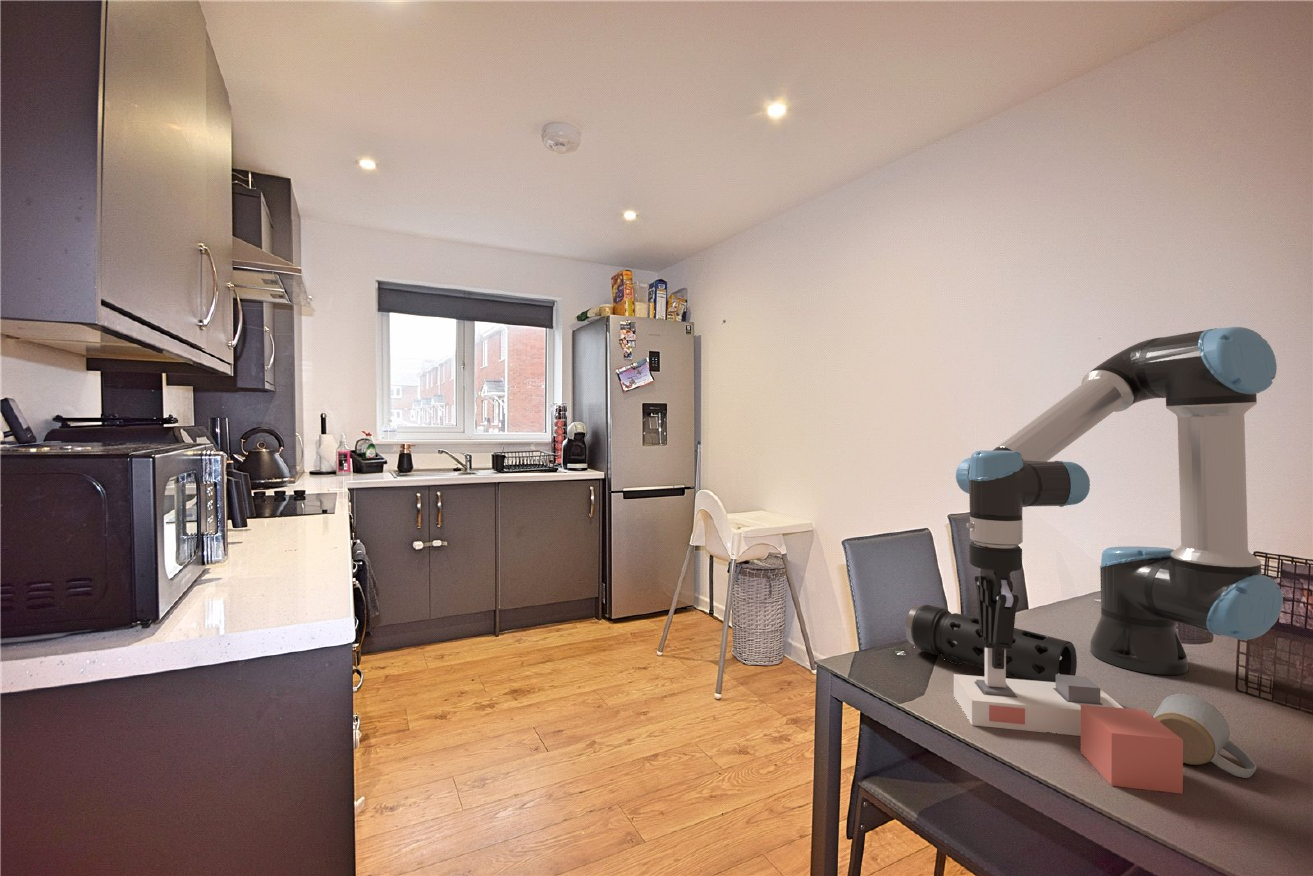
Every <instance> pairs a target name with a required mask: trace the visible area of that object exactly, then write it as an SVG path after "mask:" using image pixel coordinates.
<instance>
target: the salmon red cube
mask: <svg viewBox="0 0 1313 876" xmlns="http://www.w3.org/2000/svg"><path fill="white" fill-rule="evenodd" d="M1153 716H1154V715H1151V713H1149V712H1148V711H1147V710H1145V709H1136V708H1124V707H1123V708H1114V707H1103V706H1091V705H1081V736H1080V753H1081V755H1083V757H1084V758H1086V760H1087V761H1088V762H1089V763H1090V764H1091V765H1092V767H1093V768H1094V769H1095V770H1097V772H1098V773H1100V775H1101V776H1102V777H1103V779H1105V780H1106V781H1107V783H1108V784H1109V785H1111V787H1112V786H1113V787H1120V788H1121V787H1122V788H1129V789H1138V790H1146V791H1154V792H1163V793H1164V792H1165V793H1174V794H1181V795H1182V794H1184V793H1183V792H1184V786H1183V785H1184V783H1183V782H1184V775H1183V774H1184V763H1183V740H1182V739H1181V738H1180V737H1179V736H1177V735H1176V734H1175V733H1173V732H1172V731H1171V730H1170V729H1168V728H1167V727H1166V726H1164V725H1163V724H1162V723H1160V722H1159V721H1158V720H1157V719H1155V718H1154V717H1153Z"/></svg>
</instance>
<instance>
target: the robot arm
mask: <svg viewBox="0 0 1313 876" xmlns="http://www.w3.org/2000/svg"><path fill="white" fill-rule="evenodd" d="M1277 366H1278V365H1277V359H1276V355H1275V352H1274V351H1273V349H1272V347H1271V345H1270V344H1269V342H1268V341H1267V340H1266V339H1265V338H1263V336H1262V335H1261V334H1260V333H1258V332H1256V331H1255V330H1253V329H1250V328H1247V327H1242V326H1234V327H1233V326H1232V327H1229V326H1228V327H1220V328H1217V327H1215V328H1210V329H1209V328H1208V329H1205V330H1200V331H1199V330H1198V331H1193V332H1187V333H1182V334H1176V335H1175V334H1174V335H1169V336H1164V337H1163V336H1162V337H1160V336H1159V337H1155V338H1150V339H1146V340H1144V341H1143V340H1142V341H1140V342H1137V343H1135V344H1133V345H1130V346H1129V347H1127V348H1124V349H1122V350H1121V351H1120V352H1118V353H1116V354H1114V355H1113V356H1111V357H1109V358H1108V359H1106V360H1104V361H1103V362H1101V363H1100V364H1099V365H1097V366H1096V367H1094V368H1093V369H1092V370H1090V371H1089V372H1087V373H1086V374H1085V375H1084V376H1083V378H1082V379H1081V384H1080V385H1079V386H1077V387H1076V388H1075V389H1073V390H1072V391H1071V392H1069V393H1068V394H1067V395H1066V396H1064V397H1062V399H1060V400H1059V401H1058V402H1056V403H1055V404H1053V405H1052V406H1050V407H1049V408H1048V409H1046V410H1045V411H1044V412H1043V413H1041V414H1040V415H1039V416H1037V417H1036V418H1034V419H1033V420H1032V421H1030V422H1029V423H1027V424H1026V425H1024V426H1023V427H1022V428H1021V429H1019V430H1018V431H1017V432H1015V433H1014V434H1012V435H1011V436H1010V437H1009V438H1007V439H1006V440H1004V441H1003V442H1002V443H1000V444H999V445H998V446H997V447H995V448H994V449H992V450H976V451H974V452H973V453H972V454H971V456H970V457H968V458H965V459H963V460H961V462H959V464H958V466H957V468H956V471H955V480H956V483H957V485H958V487H959V489H960V490H961V491H963V492H964V493H965V494H969V522H967V523H966V525H965V526H966V528H967V529H969V539H970V540H971V541H972V542H970V544H969V545H968V546H969V547H968V548H969V550H968V551H969V561H968V562H969V563H970V565H971V566H973V567H974V568H977V569H980V570H979V571H980V572H979V574H980V575H975V576H974V579H973V581H974V584H975V589H976V599H977V612H978V613H977V615H978V619H979V632H980V634H981V635H983V640H984V642H986V643H984V647H985V669H984V677H985V684H986V685H987V686H992V687H1003V688H1006V649H1012V642H1013V633H1014V628H1015V625H1016V624H1015V622H1016V612H1017V608H1018V605H1019V601H1020V598H1019V596H1018V594H1012V592H1013V590H1014V589H1013V588H1014V586H1013V585H1014V584H1013V581H1012V580H1011V573H1012V572H1017V571H1020V570H1021V569H1022V568H1023V549H1022V547H1021V546H1019V545H1021V544H1022V543H1023V538H1024V537H1023V536H1024V535H1023V531H1024V530H1023V528H1024V527H1023V525H1024V522H1023V508H1027V507H1060V508H1061V507H1062V508H1063V507H1065V506H1074V505H1078V504H1079V503H1082V502H1083V501H1084V500H1085V499H1086V498H1087V497H1088V495H1089V494H1090V489H1091V488H1090V487H1091V483H1090V481H1091V480H1090V476H1089V475H1088V472H1087V470H1085V469H1084V468H1083V467H1082V465H1080V464H1078V463H1076V462H1072V461H1063V460H1054V461H1049V460H1051V459H1052V458H1054V457H1056V455H1058V454H1059V453H1060V452H1062V451H1063V450H1064V449H1066V448H1068V446H1070V445H1071V444H1072V443H1074V442H1075V441H1077V440H1078V439H1079V438H1080V437H1082V436H1083V435H1084V434H1086V433H1087V432H1089V431H1090V430H1091V429H1092V428H1094V427H1095V426H1096V425H1098V424H1099V423H1101V422H1102V421H1104V419H1106V418H1107V417H1109V416H1110V415H1111V414H1112V413H1116V412H1117V413H1119V412H1123V411H1126V410H1128V409H1129V408H1130V407H1131V406H1133V405H1134V404H1137V403H1140V402H1143V401H1149V400H1151V399H1152V400H1153V399H1165V408H1166V410H1169V412H1172V413H1173V414H1174V415H1175V416H1176V417H1177V418H1176V419H1177V443H1178V444H1177V449H1178V451H1177V452H1178V476H1179V477H1178V478H1179V479H1178V480H1179V484H1178V485H1179V511H1180V515H1179V516H1180V518H1179V519H1180V546H1179V547H1178V548H1176V549H1174V548H1169V547H1160V546H1159V547H1158V546H1112V547H1107V548H1105V549H1104V550H1103V551H1102V552H1101V561H1100V565H1099V570H1100V618H1099V620H1098V623H1097V625H1096V627H1095V630H1094V631H1093V634H1092V637H1091V639H1090V642H1089V643H1090V644H1089V645H1090V653H1091V654H1092V656H1094V657H1095V658H1097V659H1098V660H1100V661H1103V662H1105V663H1108V664H1110V665H1113V666H1116V667H1119V668H1122V669H1123V668H1124V669H1126V670H1131V671H1133V672H1134V671H1135V672H1140V673H1145V674H1152V675H1163V676H1164V675H1167V676H1176V675H1177V676H1178V675H1182V674H1185V673H1187V672H1188V668H1189V667H1188V666H1189V665H1188V664H1189V663H1188V662H1189V660H1188V657H1187V654H1186V652H1185V651H1186V650H1185V648H1184V646H1183V644H1182V641H1181V638H1180V636H1179V634H1178V631H1177V629H1176V627H1177V626H1176V624H1177V623H1176V622H1178V623H1179V624H1183V625H1187V626H1190V627H1194V628H1196V629H1200V630H1203V631H1206V632H1210V633H1211V634H1213V635H1216V636H1223V637H1227V638H1232V639H1236V640H1239V641H1247V640H1253V639H1256V638H1259V637H1261V636H1263V635H1265V634H1266V633H1267V632H1268V631H1269V630H1270V629H1271V628H1272V627H1273V626H1274V625H1275V624H1276V622H1277V621H1278V619H1279V617H1280V615H1281V613H1282V609H1283V605H1284V604H1283V603H1284V599H1283V598H1284V595H1283V592H1282V589H1281V587H1280V586H1279V584H1278V583H1277V581H1275V580H1274V579H1273V578H1270V577H1268V576H1267V575H1263V574H1262V561H1261V560H1260V559H1259V558H1258V557H1256V556H1255V555H1254V554H1252V553H1251V552H1250V551H1249V539H1248V538H1249V536H1248V534H1249V533H1248V532H1249V531H1248V506H1247V505H1248V502H1247V501H1248V500H1247V499H1248V498H1247V467H1246V463H1247V462H1246V431H1245V429H1246V427H1245V424H1246V423H1245V422H1246V421H1245V415H1246V413H1247V412H1248V411H1250V410H1251V409H1252V408H1253V407H1254V406H1256V405H1257V404H1258V403H1257V400H1258V399H1257V394H1260V393H1262V392H1265V391H1266V390H1268V388H1270V387H1271V386H1272V385H1273V380H1275V378H1276V375H1277V368H1278V367H1277Z"/></svg>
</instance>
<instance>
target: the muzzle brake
mask: <svg viewBox="0 0 1313 876" xmlns="http://www.w3.org/2000/svg"><path fill="white" fill-rule="evenodd" d="M904 632H905V637H906V639H907V641H908V642H909V643H910V644H912V645H914V646H915V647H916V648H917V649H918V650H920V651H923V652H925V653H926V652H927V653H929V654H933V655H935V656H941V659H942V660H943V659H945V660H948V661H951V662H953V663H952V664H955V663H956V664H955V665H958V664H960V665H962V664H963V663H964V664H966V665H969V666H972V667H976V668H979V669H983V670H985V647H984V643H986V642H984V640H983V635H981V634H980V632H979V617H978V618H977V617H974V616H970V615H969V616H968V615H966V614H961V613H958V612H954V613H951V611H949V610H948V609H946V608H945V607H944V608H943V607H939V606H936V605H930V604H923V605H913V606H912V607H911V608H910V610H909V611H908V613H907V616H906V619H905V625H904ZM1077 658H1078V657H1077V651H1076V647H1075V645H1074V644H1073V642H1072V641H1070V640H1065V639H1061V638H1057V637H1053V636H1049V635H1046V634H1045V635H1044V634H1041V633H1036V632H1034V631H1033V632H1032V631H1029V630H1025V629H1021V628H1017V627H1014V633H1013V642H1012V649H1006V678H1008V679H1020V680H1033V681H1045V682H1056V674H1061V675H1074V676H1077V674H1076V673H1077V668H1078V667H1077V665H1078V664H1077V663H1078V661H1077V660H1078V659H1077ZM945 660H944V661H945ZM948 661H947V662H948ZM951 662H950V663H951ZM961 663H962V664H961Z"/></svg>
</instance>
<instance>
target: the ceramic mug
mask: <svg viewBox="0 0 1313 876" xmlns="http://www.w3.org/2000/svg"><path fill="white" fill-rule="evenodd" d="M1152 716H1153V717H1154V718H1155V719H1157V720H1158V721H1159V722H1160V723H1162V724H1163V725H1164V726H1166V727H1167V728H1168V729H1170V730H1171V731H1172V732H1173V733H1175V734H1176V735H1177V736H1179V737H1180V738H1181V739H1182V740H1183V764H1187V765H1191V766H1192V765H1193V766H1197V765H1198V766H1199V765H1205V764H1206V763H1209V762H1211V763H1212V764H1214V765H1215V766H1216V767H1219V769H1221V770H1223V771H1225V772H1227V773H1228V774H1231V775H1233V776H1236V777H1238V778H1241V777H1242V778H1244V779H1249V778H1250V777H1252V776H1253V775H1254V773H1255V772H1256V770H1258V769H1257V767H1258V766H1257V764H1256V761H1254V759H1253V758H1252V757H1251V756H1250V755H1249V754H1248V753H1247V752H1246V751H1245V750H1244V749H1242V748H1241V747H1240V746H1239V745H1238V744H1235V743H1234V741H1232V740H1230V734H1231V732H1230V726H1229V724H1228V721H1227V720H1226V718H1225V716H1224V715H1223V714H1222V713H1221V712H1220V710H1219V709H1218V708H1217V707H1215V706H1214V705H1213V704H1211V703H1210V702H1208V701H1207V700H1205V699H1203V698H1201V697H1199V696H1196V695H1192V694H1188V693H1187V694H1186V693H1175V694H1171V695H1168V696H1167V697H1165V698H1164V699H1163V700H1162V702H1161V703H1160V705H1159V706H1158V708H1157V710H1156V712H1155V713H1154V715H1152ZM1221 750H1225V751H1226V752H1227V753H1229V754H1230V755H1232V756H1233V757H1234V758H1235V759H1237V760H1238V762H1240V763H1241V765H1242V766H1243V767H1241V766H1239V765H1236V764H1235V763H1233V762H1231V761H1229V759H1226V758H1224V757H1223V756H1222V755H1220V752H1221ZM1244 767H1245V768H1244Z"/></svg>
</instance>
